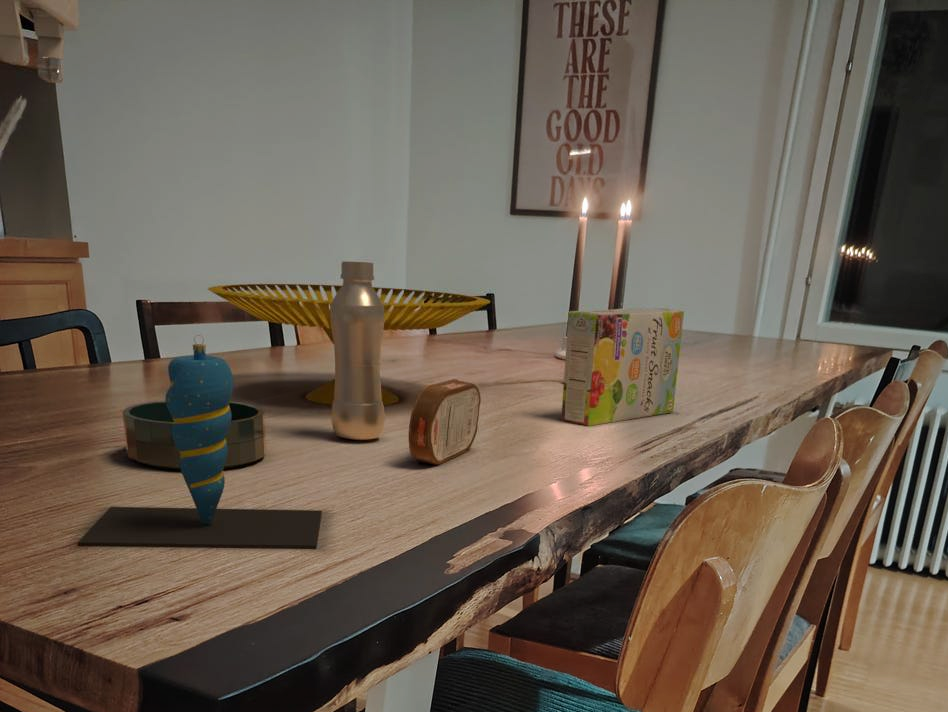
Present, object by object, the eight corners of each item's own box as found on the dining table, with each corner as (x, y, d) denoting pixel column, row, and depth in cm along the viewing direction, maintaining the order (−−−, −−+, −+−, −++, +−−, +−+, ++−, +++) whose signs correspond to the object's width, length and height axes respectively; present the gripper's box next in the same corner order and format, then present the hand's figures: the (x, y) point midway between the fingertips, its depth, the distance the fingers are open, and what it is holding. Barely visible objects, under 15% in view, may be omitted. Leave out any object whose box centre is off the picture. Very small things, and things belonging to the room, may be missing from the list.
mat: (78, 547, 71) (77, 542, 71) (110, 511, 80) (110, 506, 80) (316, 550, 73) (316, 545, 73) (321, 514, 82) (321, 510, 82)
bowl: (113, 472, 92) (107, 421, 90) (144, 442, 105) (139, 397, 103) (258, 475, 94) (256, 425, 92) (271, 445, 107) (269, 401, 105)
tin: (458, 445, 112) (461, 373, 109) (482, 448, 111) (486, 376, 108) (404, 469, 99) (406, 389, 96) (431, 473, 98) (434, 392, 95)
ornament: (188, 514, 79) (174, 329, 73) (248, 517, 79) (239, 333, 73) (167, 531, 74) (150, 336, 68) (231, 535, 74) (219, 340, 68)
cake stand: (477, 384, 160) (481, 291, 154) (496, 429, 123) (502, 309, 117) (240, 374, 156) (235, 279, 150) (185, 417, 120) (176, 294, 114)
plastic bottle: (346, 447, 108) (344, 262, 100) (321, 436, 113) (318, 260, 105) (394, 443, 112) (397, 264, 104) (369, 432, 117) (369, 261, 109)
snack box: (644, 408, 145) (656, 306, 139) (674, 413, 142) (687, 309, 136) (557, 420, 131) (567, 308, 125) (589, 427, 128) (600, 312, 122)
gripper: (12, -93, 82) (34, 87, 87) (-91, -189, 63) (-54, 48, 69) (87, -86, 82) (104, 92, 88) (7, -179, 64) (35, 55, 69)
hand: (34, 73), depth 78 cm, fingers open, 8 cm apart
